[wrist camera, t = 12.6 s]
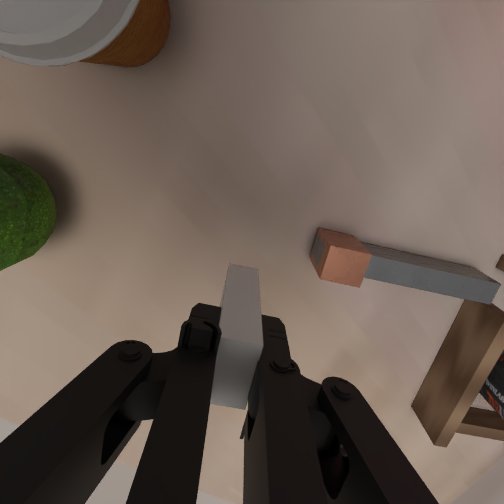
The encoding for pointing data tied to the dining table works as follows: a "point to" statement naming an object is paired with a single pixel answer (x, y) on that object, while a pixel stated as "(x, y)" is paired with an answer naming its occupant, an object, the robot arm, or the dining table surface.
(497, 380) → the supplement bottle
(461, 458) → the dining table surface
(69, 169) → the dining table surface
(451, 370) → the base
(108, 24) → the disposable coffee cup
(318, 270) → the bar
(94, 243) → the dining table surface
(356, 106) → the dining table surface
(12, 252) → the avocado
